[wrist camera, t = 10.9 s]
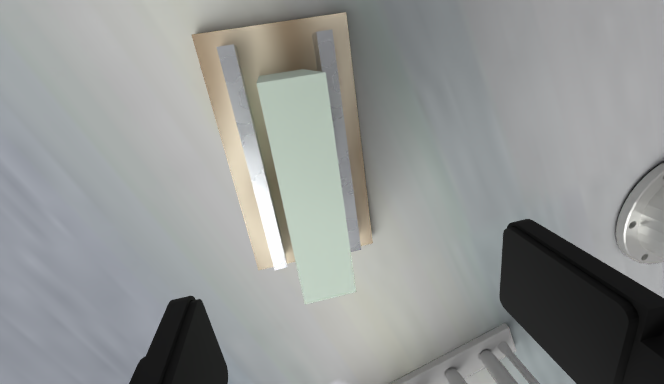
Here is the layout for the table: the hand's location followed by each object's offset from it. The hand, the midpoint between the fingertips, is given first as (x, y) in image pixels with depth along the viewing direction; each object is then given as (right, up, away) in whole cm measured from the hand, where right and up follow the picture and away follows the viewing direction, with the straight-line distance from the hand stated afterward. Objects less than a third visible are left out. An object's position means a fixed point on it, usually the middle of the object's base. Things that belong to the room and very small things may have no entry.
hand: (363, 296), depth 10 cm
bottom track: (-4, +6, +16) cm, 17 cm away
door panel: (-4, +6, +15) cm, 16 cm away
